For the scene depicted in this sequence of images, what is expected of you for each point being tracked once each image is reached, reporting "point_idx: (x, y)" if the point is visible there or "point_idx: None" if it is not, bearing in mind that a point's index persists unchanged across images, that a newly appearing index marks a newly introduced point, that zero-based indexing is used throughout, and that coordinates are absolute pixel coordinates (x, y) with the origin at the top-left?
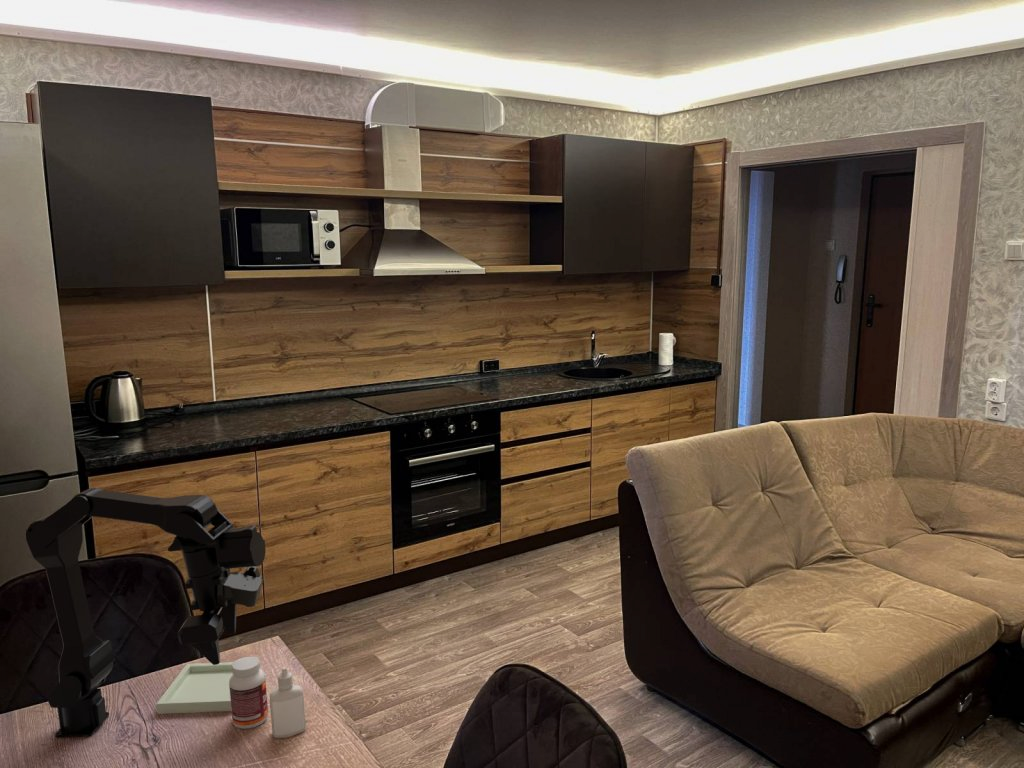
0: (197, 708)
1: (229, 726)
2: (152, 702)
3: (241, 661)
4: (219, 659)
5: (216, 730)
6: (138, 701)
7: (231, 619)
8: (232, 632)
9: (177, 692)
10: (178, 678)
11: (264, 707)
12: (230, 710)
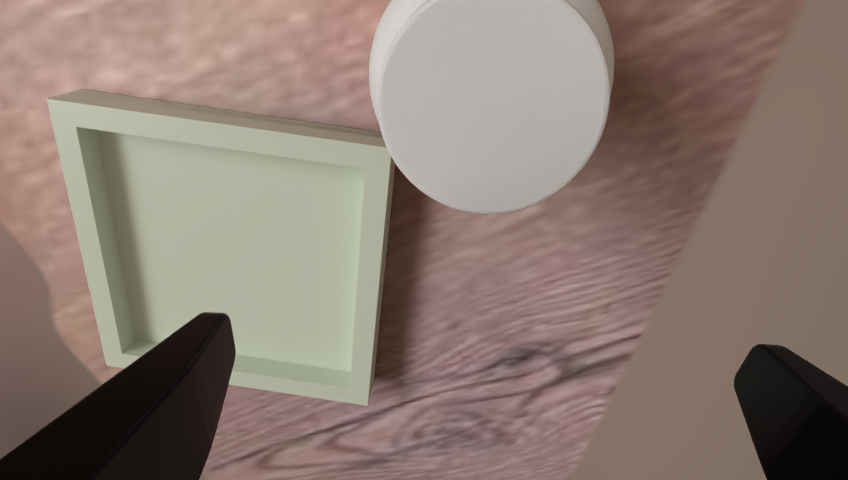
0: (383, 274)
1: None
2: (305, 402)
3: (452, 151)
4: (806, 370)
5: None
6: (296, 435)
7: (136, 475)
8: (225, 338)
9: (270, 353)
10: None
11: None
12: None
